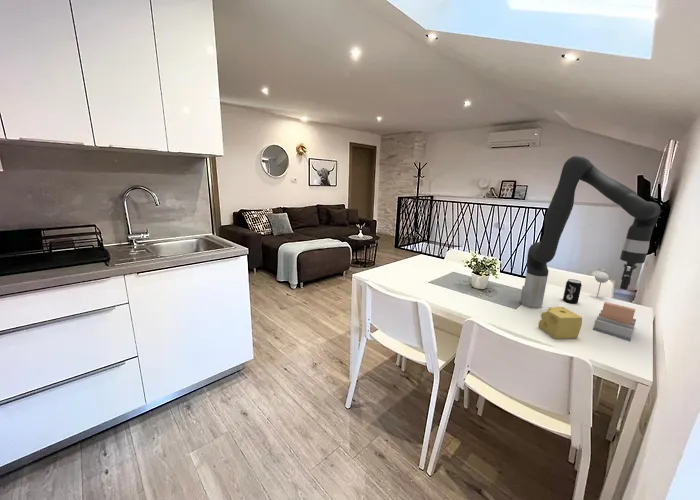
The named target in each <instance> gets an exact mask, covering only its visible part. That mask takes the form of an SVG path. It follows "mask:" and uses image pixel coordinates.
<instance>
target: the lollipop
mask: <svg viewBox="0 0 700 500" xmlns="http://www.w3.org/2000/svg"><path fill="white" fill-rule="evenodd" d="M594 280H595V281H596V282H598V283H599V285H598V290H597V294H596V299H598V298H599V294H600V293H599V292H600V288H601V284H604V283H605V284H606V283H607V282H608V281H609V280H610V276H609V274H608V273H606V272H603V271H602V272H601V271H600V272H597V273H596V274H595V275H594Z"/></svg>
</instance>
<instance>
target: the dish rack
mask: <svg viewBox="0 0 700 500" xmlns="http://www.w3.org/2000/svg"><path fill="white" fill-rule="evenodd" d="M602 310H603V309H600V311H599V313H598V315H597V316H596V317H597V318H596V319H595V320H594V325H593V327H592V330H593V331H595V332H598V333H601V334H605V335H609V336H612V337H615V338H618V339H621V340H625V341H628V342H630V341H631V338H632V335H633V332H634V329H635V325H636V321H637V318H634V317H633V320H632V324H631V325H628V324H625V323H621V322H617V321H614V320H610V319H607V318H603V317H601V314H602Z"/></svg>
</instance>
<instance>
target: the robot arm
mask: <svg viewBox="0 0 700 500" xmlns="http://www.w3.org/2000/svg"><path fill="white" fill-rule="evenodd" d="M580 181H582V182H584V183H587V184H588V185H590V186H592V187H593V188H594V189H595V190H597V191H598V192H599V193H601V195H603V196H604V197H606V198H608V199H609V200H610V201H611V202H613V203H614V204H616V205H618V206H620V208H621V209H623V211H625V212H626V213H628V214H629V216H631V217H633V218H634V219H633V221H632V222H633V223H632V224H631V225H630V226H629V228H628V230H627V234H626V236H625V237H626V238H625V240H624V242H623V245H622V248H621V253H620V257H619V259H620V260H621V261H623V262H626V263H624V264H623V266H622V267H623V268H622V272H621V275H622V276H621V278H620V279H621V282H620V288H619V289H620V290H628V287H629V286H630V284H631V281H632V278H633V277H634V274H635V273H636V270H637V269H638V266H637V264H644V263H645V262H646V259H647V255H648V253H649V252H648V251H649V249H650V241H651V237H652V235H653V230H654V228H655V226H656V225H657V224H656V223H657V222H658V219H659V217H660V214H661V206H660V205H659V204H658V203H657V202H655V201H647V200H645V199H643V198H642V197H641V196H639V195H638V193H637V192H636V191H634V190H633V189H631V188H630V187H628V186H627V185H625V184H623V183H622V182H620V181H618V180H616V179H614V178H612V177H609V176H608V175H607V174H605V173H603V172H602V171H600V169H598V168H597V167H596V166H595V165H594V164H593V163H592V162H591V161H590V160H589V159H587V158H586V157H584V156H581V155H574V156H571V157H570V158H568V159H567V160H566V161H565V162H564V163H563V166H562V170H561V173H560V177H559V180H558V184H557V187H556V189H555V190H554V194H553V196H552V198H551V201H550V203H549V206H548V208H547V211H546V213H545V217H544V227H543V228H544V229H543V230H544V231H543V236H542V237H541V240H540V241H537V242H533V243H532V244H531V245H530V247H529V248H528V252H527V258H526V274H525V281H524V285H522V289H521V293H520V299H519V303H521V304H522V305H523V306H526V307H527V308H534V309H540V308H542V307H543V304H544V297H545V291H546V287H547V281H548V276H549V273H550V272H549V269H548V265H547V263H550V262H551V261H552V260H554V258H555V256H556V253H557V249H558V246H559V243H560V239H561V237H562V234H563V231H564V229H565V227H566V224H567V223H568V220H569V218H570V216H571V213H572V211H573V209H574V208H573V207H574V204H575V203H574V202H575V195H576V189H577V186H578V183H579V182H580Z"/></svg>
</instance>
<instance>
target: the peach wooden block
mask: <svg viewBox="0 0 700 500" xmlns="http://www.w3.org/2000/svg"><path fill="white" fill-rule="evenodd" d="M601 310H602V314H601V317H603V318H607V319H610V320H614V321H617V322H621V323H625V324H628V325H631V324H632V320H633V318H634V316H635V312H636V309H635V308H632V307H629V306H624V305H622V304H621V305H620V304H617V303H613V302H609V301H604V303H603V306H602V309H601Z"/></svg>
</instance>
